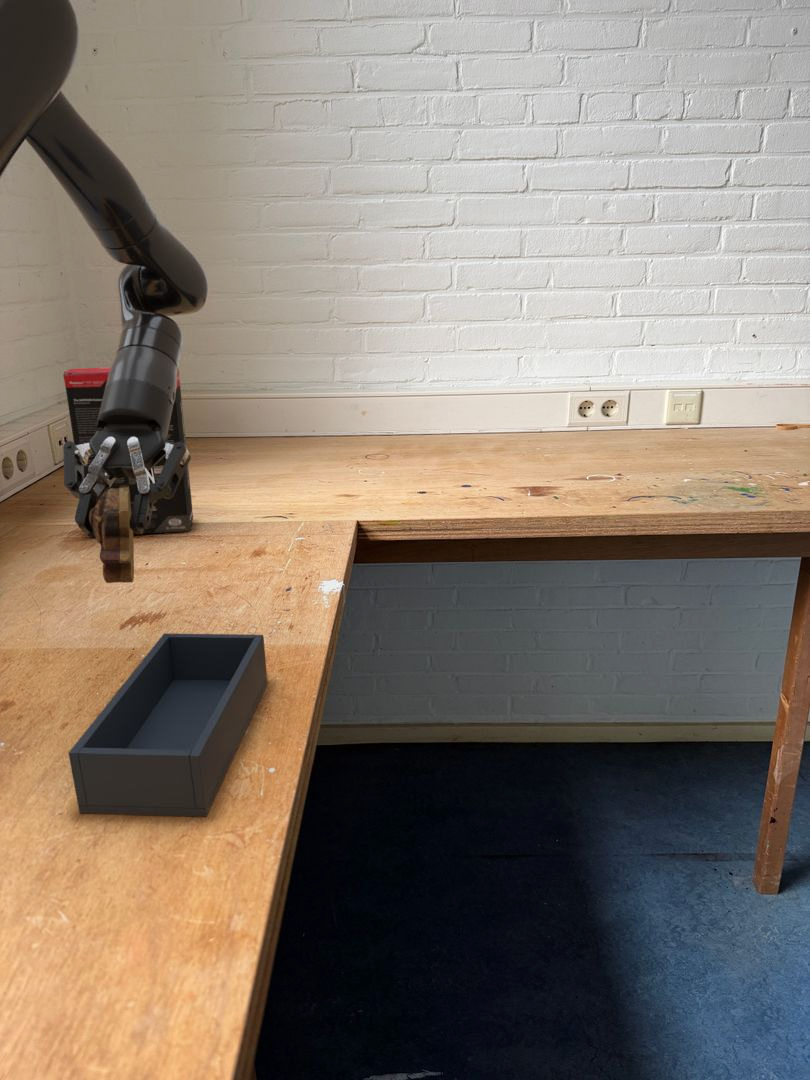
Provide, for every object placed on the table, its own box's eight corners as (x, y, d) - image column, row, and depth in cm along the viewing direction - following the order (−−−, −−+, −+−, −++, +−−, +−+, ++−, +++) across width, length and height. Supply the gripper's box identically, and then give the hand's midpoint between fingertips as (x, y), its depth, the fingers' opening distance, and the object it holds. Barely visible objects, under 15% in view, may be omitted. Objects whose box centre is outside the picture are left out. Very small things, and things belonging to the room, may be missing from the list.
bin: (79, 813, 65) (67, 752, 63) (170, 682, 85) (163, 633, 84) (206, 817, 64) (199, 755, 62) (267, 683, 85) (263, 634, 83)
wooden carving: (99, 557, 94) (82, 475, 90) (139, 550, 95) (124, 469, 92) (105, 609, 79) (85, 514, 76) (152, 600, 81) (135, 506, 77)
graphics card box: (196, 520, 140) (179, 362, 131) (193, 533, 133) (174, 367, 124) (94, 527, 137) (69, 366, 128) (86, 540, 131) (59, 372, 122)
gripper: (64, 376, 88) (27, 513, 81) (191, 376, 87) (165, 514, 80) (91, 415, 95) (60, 545, 87) (210, 415, 94) (188, 546, 86)
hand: (110, 529), depth 84 cm, fingers closed on wooden carving, 5 cm apart
